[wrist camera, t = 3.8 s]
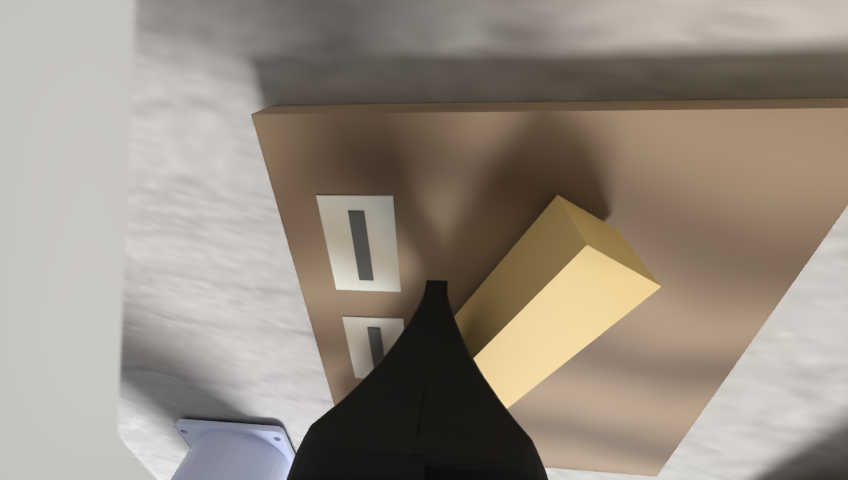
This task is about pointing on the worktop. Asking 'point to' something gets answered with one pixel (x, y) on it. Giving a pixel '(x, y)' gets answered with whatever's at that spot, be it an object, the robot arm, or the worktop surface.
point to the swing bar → (551, 298)
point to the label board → (521, 206)
